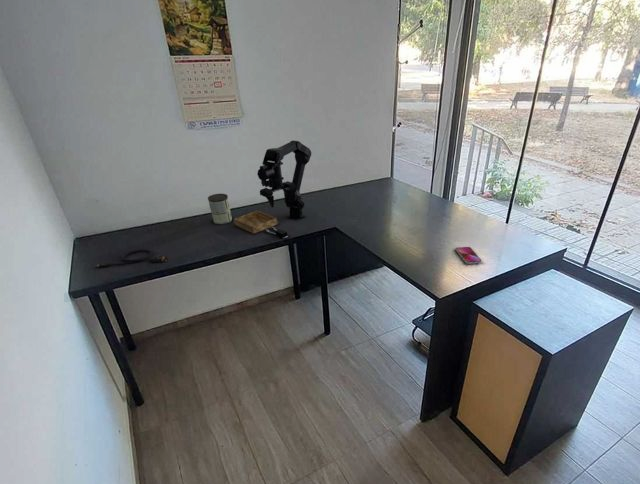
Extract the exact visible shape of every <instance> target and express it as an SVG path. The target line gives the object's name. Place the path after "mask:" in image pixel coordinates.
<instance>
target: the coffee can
mask: <svg viewBox="0 0 640 484" xmlns="http://www.w3.org/2000/svg"><path fill="white" fill-rule="evenodd" d="M228 197H229V196H228V194H227V193H214V194H210V195H209V196H208V197H207V200H208V205H209V209H210V212H211V213H210V214H211V217H212V222H213V223H214V224H218V225H223V224H227V223H231V222H232V220H233V218H232V212H231V207H230V202H229V198H228Z"/></svg>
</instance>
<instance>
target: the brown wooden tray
mask: <svg viewBox="0 0 640 484" xmlns="http://www.w3.org/2000/svg"><path fill="white" fill-rule="evenodd" d="M233 223H234V226H236V227H238V228H240V229H243V230H245V231H248V232H250V233H252V234H256V233H259V232H262V231H265V230H266V229H267V230H268V229H269V228H271V227H275V226H277V225H279V224H278V218H277V217H275V216H272V215H270V214H267V213H264V212H262V211H260V210H255V211H252V212H249V213H247V214H244V215H241V216H237V217H236V218H235V217H234V218H233Z"/></svg>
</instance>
